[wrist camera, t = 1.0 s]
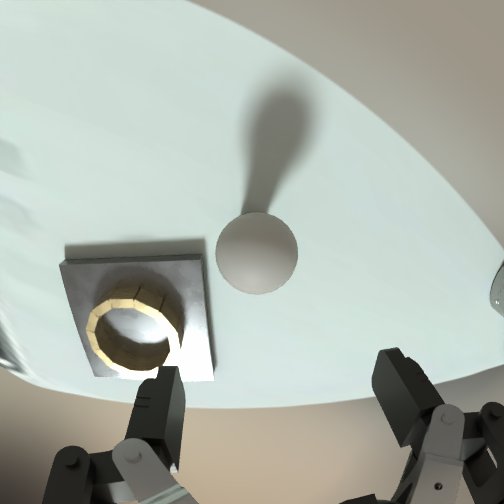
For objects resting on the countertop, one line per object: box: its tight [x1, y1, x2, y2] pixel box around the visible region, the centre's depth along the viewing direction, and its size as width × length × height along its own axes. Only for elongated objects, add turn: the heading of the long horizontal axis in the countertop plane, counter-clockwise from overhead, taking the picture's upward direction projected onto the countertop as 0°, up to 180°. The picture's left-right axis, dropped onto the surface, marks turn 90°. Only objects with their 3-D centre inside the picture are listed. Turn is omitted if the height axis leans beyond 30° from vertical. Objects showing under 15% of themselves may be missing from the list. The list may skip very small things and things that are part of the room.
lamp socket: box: [59, 254, 214, 381], centre depth 33 cm, size 16×16×4 cm
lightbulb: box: [215, 212, 298, 295], centre depth 26 cm, size 6×6×11 cm
